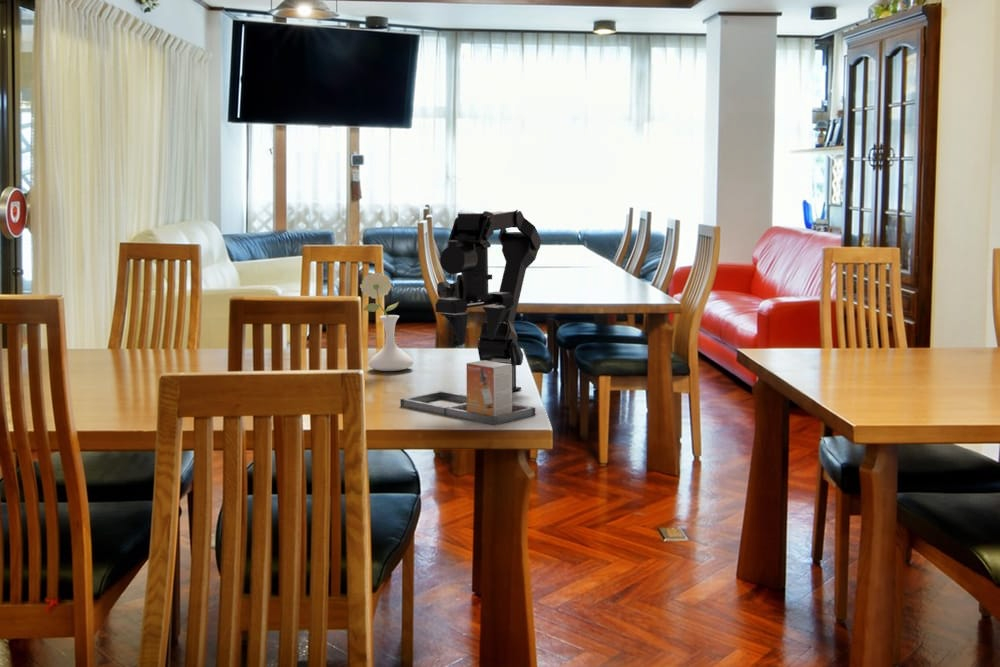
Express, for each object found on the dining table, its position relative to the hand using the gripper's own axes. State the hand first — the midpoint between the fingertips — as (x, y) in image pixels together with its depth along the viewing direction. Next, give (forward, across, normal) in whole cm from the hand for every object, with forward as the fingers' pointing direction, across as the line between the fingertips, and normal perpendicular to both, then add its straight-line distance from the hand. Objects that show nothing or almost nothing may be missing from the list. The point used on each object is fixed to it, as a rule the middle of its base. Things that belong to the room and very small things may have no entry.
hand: (476, 342), depth 234 cm
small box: (+13, +8, +11) cm, 19 cm away
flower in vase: (+13, -13, -45) cm, 49 cm away
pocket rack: (+13, +8, +5) cm, 16 cm away
